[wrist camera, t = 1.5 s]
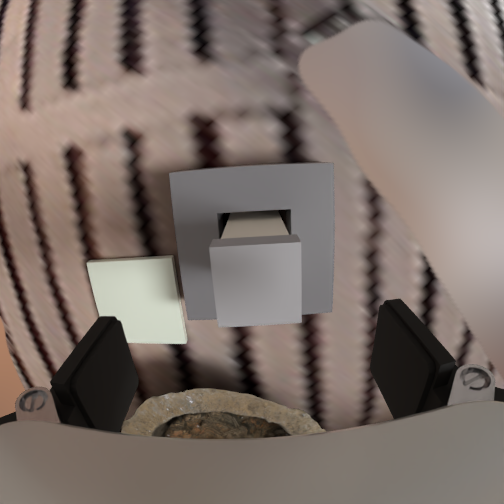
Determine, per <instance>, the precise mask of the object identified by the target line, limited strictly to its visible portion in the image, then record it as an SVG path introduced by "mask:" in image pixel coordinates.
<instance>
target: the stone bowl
mask: <svg viewBox="0 0 504 504" xmlns="http://www.w3.org/2000/svg"><path fill="white" fill-rule="evenodd" d="M321 432H326V431H325V430H324V429H321V427H320V426H319V424H318V423H317V422H316V421H314V420H313V419H311V417H310V415H308V414H307V413H306V412H305V411H303V410H300V409H294V408H293V409H288V408H287V407H286V406H283V405H279V404H277V403H275V402H272V401H268V400H264V399H261V398H259V397H256V396H254V395H251V394H242V393H238V392H233V391H227V390H219V389H212V388H206V389H197V388H196V389H193V390H186V391H185V392H179V393H168V394H165V395H161V396H158V397H156V396H152V397H151V398H150V399H147V400H146V401H145V402H144V403H143V404H141V405H140V406H139V408H138V409H137V410H136V412H135V415H133V416H132V417H131V418H130V419H128V420H126V421H123V426H122V430H121V433H126V434H134V435H143V436H154V437H167V438H186V439H251V438H270V437H283V436H294V435H304V434H313V433H321Z"/></svg>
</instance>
